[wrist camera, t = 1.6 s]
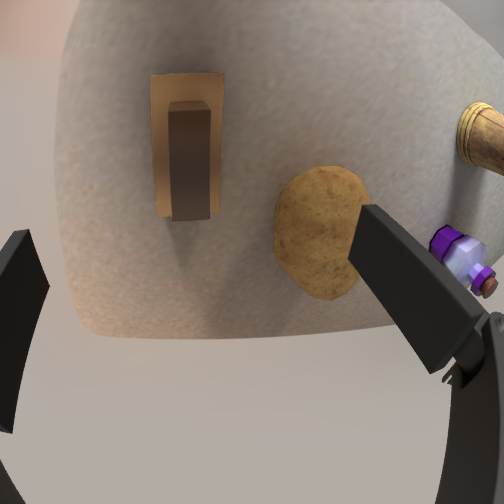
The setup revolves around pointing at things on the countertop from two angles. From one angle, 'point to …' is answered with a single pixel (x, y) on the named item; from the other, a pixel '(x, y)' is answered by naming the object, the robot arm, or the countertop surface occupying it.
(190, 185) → the brush
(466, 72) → the countertop surface
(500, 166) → the wooden mug
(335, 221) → the potato
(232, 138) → the countertop surface
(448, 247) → the potion bottle
